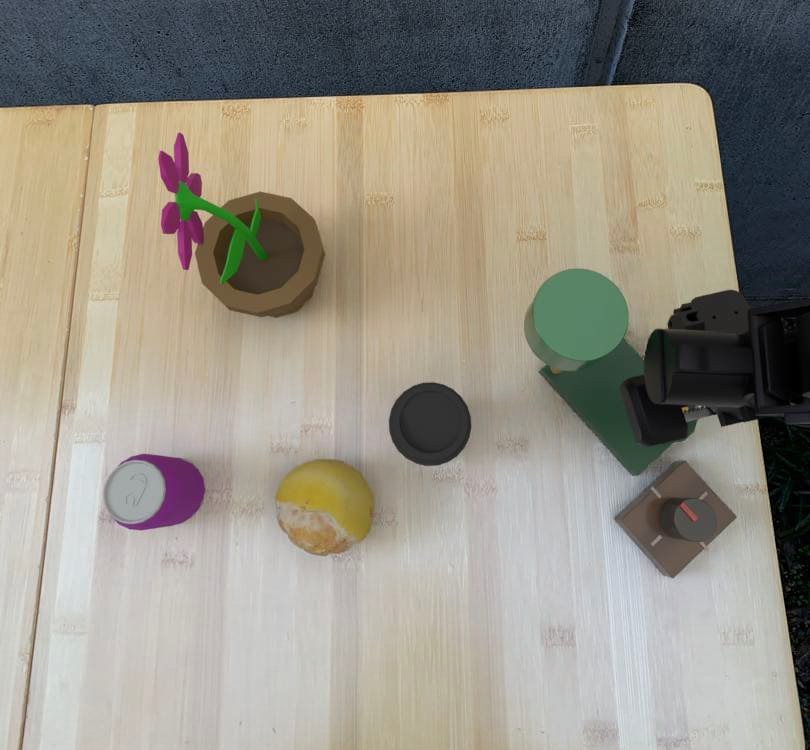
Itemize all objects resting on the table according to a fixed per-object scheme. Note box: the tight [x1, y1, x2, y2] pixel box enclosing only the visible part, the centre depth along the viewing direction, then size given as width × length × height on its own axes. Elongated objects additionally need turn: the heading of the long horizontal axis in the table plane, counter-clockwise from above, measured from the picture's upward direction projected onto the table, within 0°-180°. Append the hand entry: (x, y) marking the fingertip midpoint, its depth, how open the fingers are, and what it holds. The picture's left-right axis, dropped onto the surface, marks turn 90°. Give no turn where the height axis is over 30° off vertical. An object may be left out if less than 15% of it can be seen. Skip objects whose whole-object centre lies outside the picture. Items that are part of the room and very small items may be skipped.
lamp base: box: [538, 337, 700, 477], centre depth 79 cm, size 16×10×4 cm, turn 40°
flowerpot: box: [157, 132, 326, 318], centre depth 71 cm, size 14×14×30 cm
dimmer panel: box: [613, 460, 738, 579], centre depth 76 cm, size 9×10×3 cm
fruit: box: [274, 458, 376, 557], centre depth 74 cm, size 10×11×10 cm
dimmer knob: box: [659, 498, 717, 542], centre depth 73 cm, size 4×4×5 cm
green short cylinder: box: [523, 268, 630, 371], centre depth 59 cm, size 8×8×5 cm
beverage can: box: [102, 453, 206, 531], centre depth 74 cm, size 8×8×12 cm
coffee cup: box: [388, 381, 472, 467], centre depth 73 cm, size 8×8×15 cm
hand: (692, 402), depth 69 cm, fingers open, 9 cm apart
